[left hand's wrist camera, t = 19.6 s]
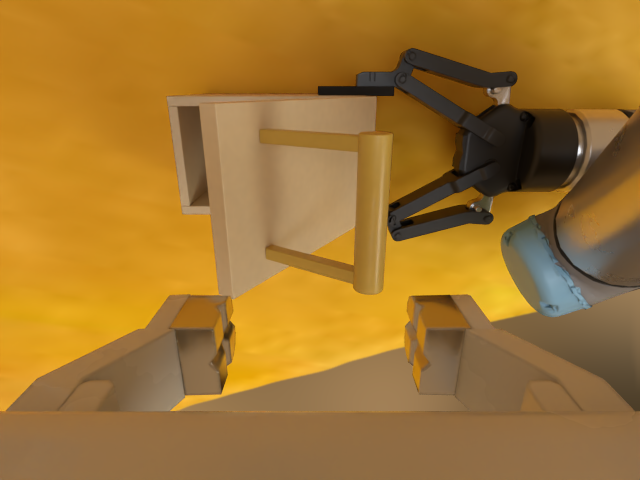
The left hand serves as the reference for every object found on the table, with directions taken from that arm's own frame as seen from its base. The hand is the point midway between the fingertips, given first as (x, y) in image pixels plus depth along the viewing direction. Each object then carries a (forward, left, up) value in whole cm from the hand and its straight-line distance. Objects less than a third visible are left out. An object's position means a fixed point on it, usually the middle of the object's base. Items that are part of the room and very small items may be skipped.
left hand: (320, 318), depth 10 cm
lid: (-1, 0, -17) cm, 17 cm away
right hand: (0, 0, -28) cm, 28 cm away
